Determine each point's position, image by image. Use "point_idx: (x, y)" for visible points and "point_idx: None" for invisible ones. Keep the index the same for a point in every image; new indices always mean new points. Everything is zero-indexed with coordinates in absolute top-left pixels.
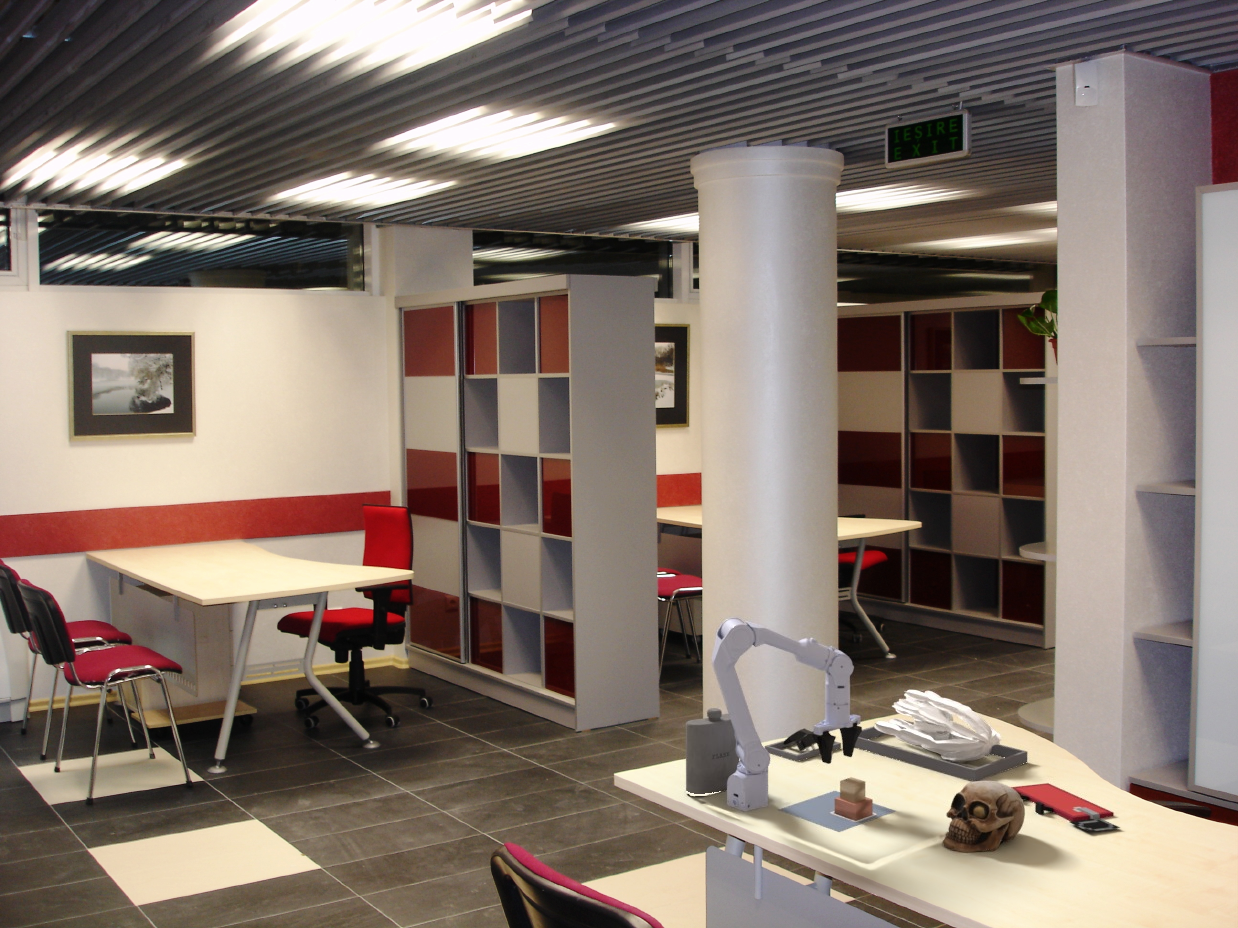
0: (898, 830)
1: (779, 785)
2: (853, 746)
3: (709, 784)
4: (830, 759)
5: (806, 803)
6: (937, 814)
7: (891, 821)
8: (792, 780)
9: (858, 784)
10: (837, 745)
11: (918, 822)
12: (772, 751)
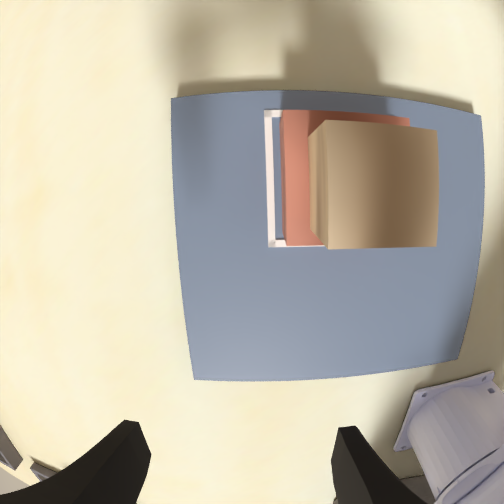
0: (293, 11)
1: (269, 473)
2: (95, 459)
3: (430, 490)
4: (357, 441)
5: (368, 356)
6: (81, 49)
7: (243, 69)
8: (216, 474)
9: (395, 126)
10: (37, 469)
11: (178, 21)
12: None
